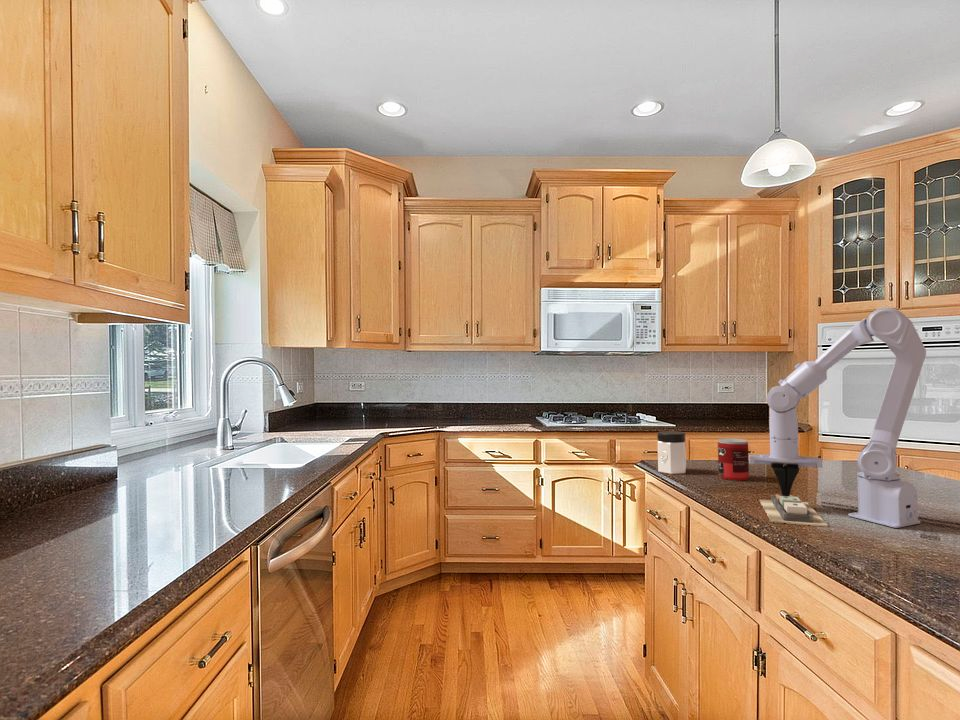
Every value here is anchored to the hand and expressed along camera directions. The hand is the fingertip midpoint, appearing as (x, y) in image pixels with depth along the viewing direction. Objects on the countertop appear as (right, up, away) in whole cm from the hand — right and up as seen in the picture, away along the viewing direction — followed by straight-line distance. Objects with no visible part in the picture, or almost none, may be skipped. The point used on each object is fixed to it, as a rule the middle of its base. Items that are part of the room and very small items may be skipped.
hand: (785, 496), depth 120 cm
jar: (-11, -3, +41) cm, 43 cm away
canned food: (+3, -3, +30) cm, 30 cm away
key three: (0, -1, 0) cm, 1 cm away
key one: (-4, 0, -10) cm, 11 cm away
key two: (-2, 0, -5) cm, 6 cm away
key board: (-2, -2, -5) cm, 6 cm away
